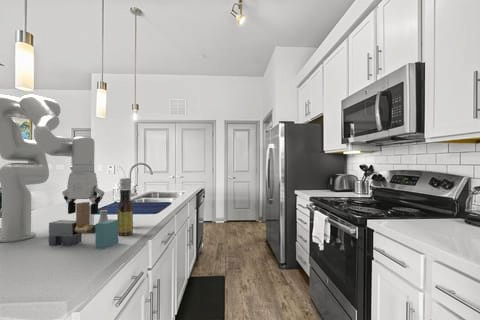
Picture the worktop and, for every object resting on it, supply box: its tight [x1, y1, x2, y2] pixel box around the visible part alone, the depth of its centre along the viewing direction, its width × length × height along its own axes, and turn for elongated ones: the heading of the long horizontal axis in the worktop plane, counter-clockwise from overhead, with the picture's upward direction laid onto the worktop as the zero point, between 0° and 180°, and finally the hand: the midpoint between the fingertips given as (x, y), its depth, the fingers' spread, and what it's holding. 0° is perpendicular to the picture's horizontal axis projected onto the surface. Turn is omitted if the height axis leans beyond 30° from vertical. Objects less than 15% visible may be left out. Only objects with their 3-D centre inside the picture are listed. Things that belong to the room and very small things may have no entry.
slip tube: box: [73, 201, 96, 235], centre depth 102 cm, size 16×4×12 cm, turn 81°
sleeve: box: [48, 219, 83, 247], centre depth 103 cm, size 10×6×8 cm, turn 81°
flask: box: [97, 209, 109, 223], centre depth 120 cm, size 7×7×10 cm
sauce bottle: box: [116, 188, 134, 237], centre depth 116 cm, size 6×6×20 cm
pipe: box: [118, 166, 132, 199], centre depth 129 cm, size 6×6×30 cm
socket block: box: [94, 219, 119, 250], centre depth 100 cm, size 4×8×9 cm, turn 171°
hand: (83, 213), depth 102 cm, fingers open, 9 cm apart
